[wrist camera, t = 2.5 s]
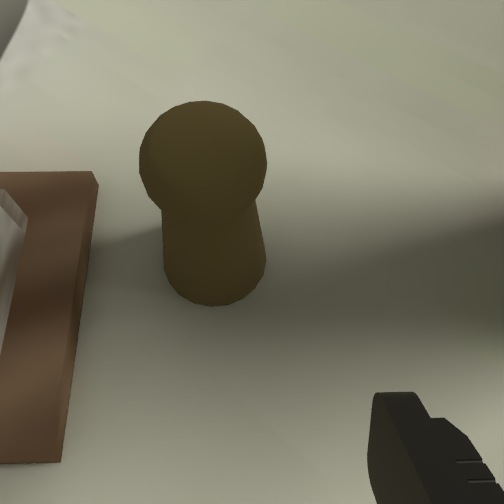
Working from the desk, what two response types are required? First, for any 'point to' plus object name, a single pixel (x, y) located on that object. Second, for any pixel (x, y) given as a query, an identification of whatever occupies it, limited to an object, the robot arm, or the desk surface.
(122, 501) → the desk surface
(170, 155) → the cork
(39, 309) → the mount board
